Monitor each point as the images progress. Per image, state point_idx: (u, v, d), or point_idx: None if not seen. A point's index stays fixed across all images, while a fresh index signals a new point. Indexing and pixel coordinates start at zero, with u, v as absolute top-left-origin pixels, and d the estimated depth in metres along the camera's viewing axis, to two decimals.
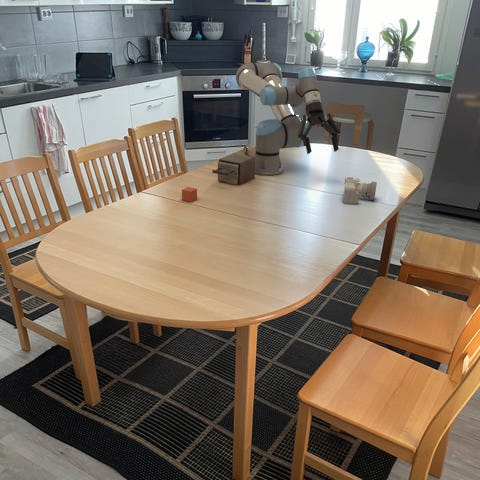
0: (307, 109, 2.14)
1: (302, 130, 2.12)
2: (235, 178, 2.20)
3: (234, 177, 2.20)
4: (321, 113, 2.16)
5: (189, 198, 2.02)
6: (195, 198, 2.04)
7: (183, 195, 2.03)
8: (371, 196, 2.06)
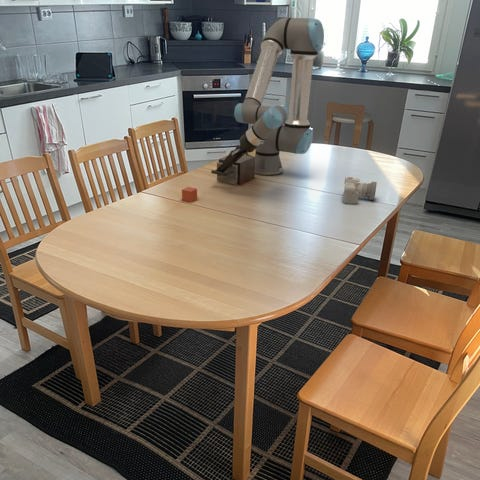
0: (244, 145, 2.01)
1: (228, 164, 2.09)
2: (234, 178, 2.20)
3: (233, 177, 2.20)
4: None
5: (189, 198, 2.02)
6: (195, 198, 2.04)
7: (183, 195, 2.03)
8: (371, 196, 2.06)
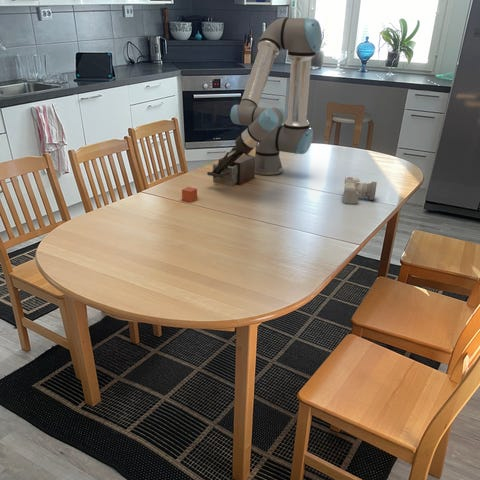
0: (240, 147, 1.99)
1: (224, 165, 2.07)
2: (230, 180, 2.17)
3: (229, 179, 2.17)
4: None
5: (189, 198, 2.02)
6: (195, 198, 2.04)
7: (183, 195, 2.03)
8: (371, 196, 2.06)
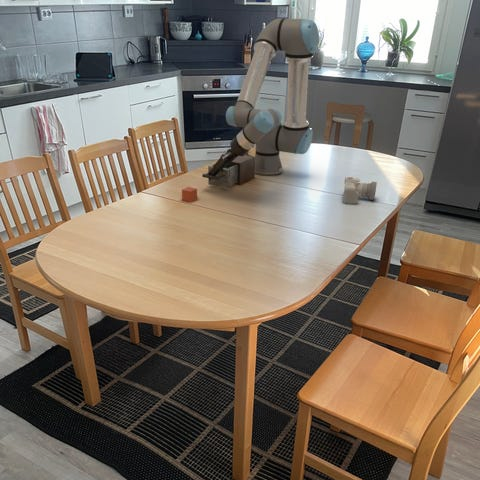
0: (235, 149, 1.96)
1: (219, 168, 2.04)
2: (226, 182, 2.15)
3: (225, 181, 2.15)
4: None
5: (189, 198, 2.02)
6: (195, 198, 2.04)
7: (183, 195, 2.03)
8: (371, 196, 2.06)
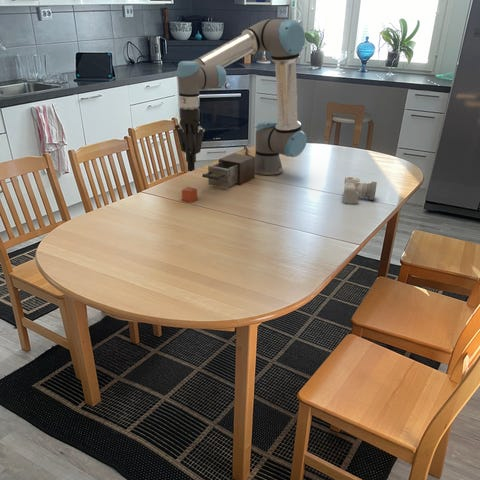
0: None
1: (181, 144, 1.93)
2: (226, 182, 2.15)
3: (225, 181, 2.15)
4: (193, 121, 1.86)
5: (189, 198, 2.02)
6: (195, 198, 2.04)
7: (183, 195, 2.03)
8: (371, 196, 2.06)
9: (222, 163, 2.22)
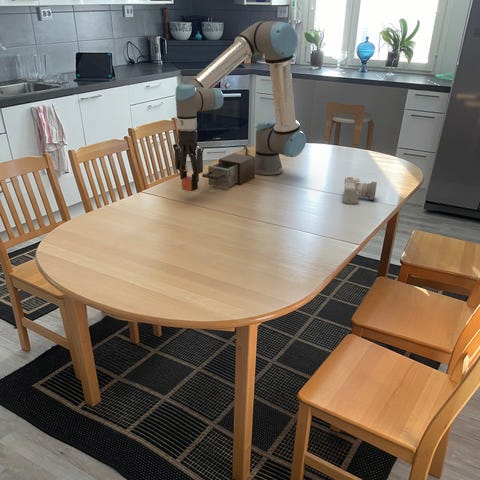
0: None
1: (176, 163, 1.99)
2: (226, 182, 2.15)
3: (225, 181, 2.15)
4: (191, 142, 1.90)
5: (189, 187, 2.00)
6: None
7: (183, 184, 2.00)
8: (371, 196, 2.06)
9: (222, 163, 2.22)
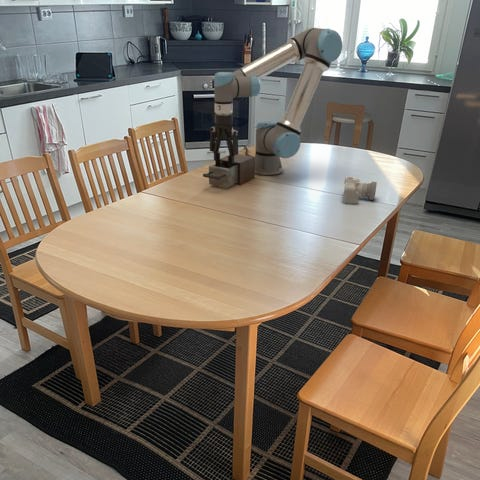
0: None
1: (211, 145, 2.14)
2: (227, 182, 2.15)
3: (225, 181, 2.15)
4: (227, 126, 2.06)
5: None
6: None
7: None
8: (371, 196, 2.06)
9: (223, 163, 2.23)
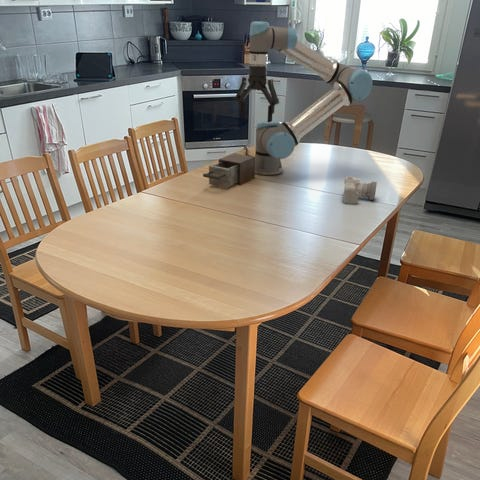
0: None
1: (238, 94, 2.12)
2: (227, 182, 2.15)
3: (225, 181, 2.15)
4: (261, 78, 2.04)
5: None
6: None
7: None
8: (371, 196, 2.06)
9: (223, 163, 2.23)
